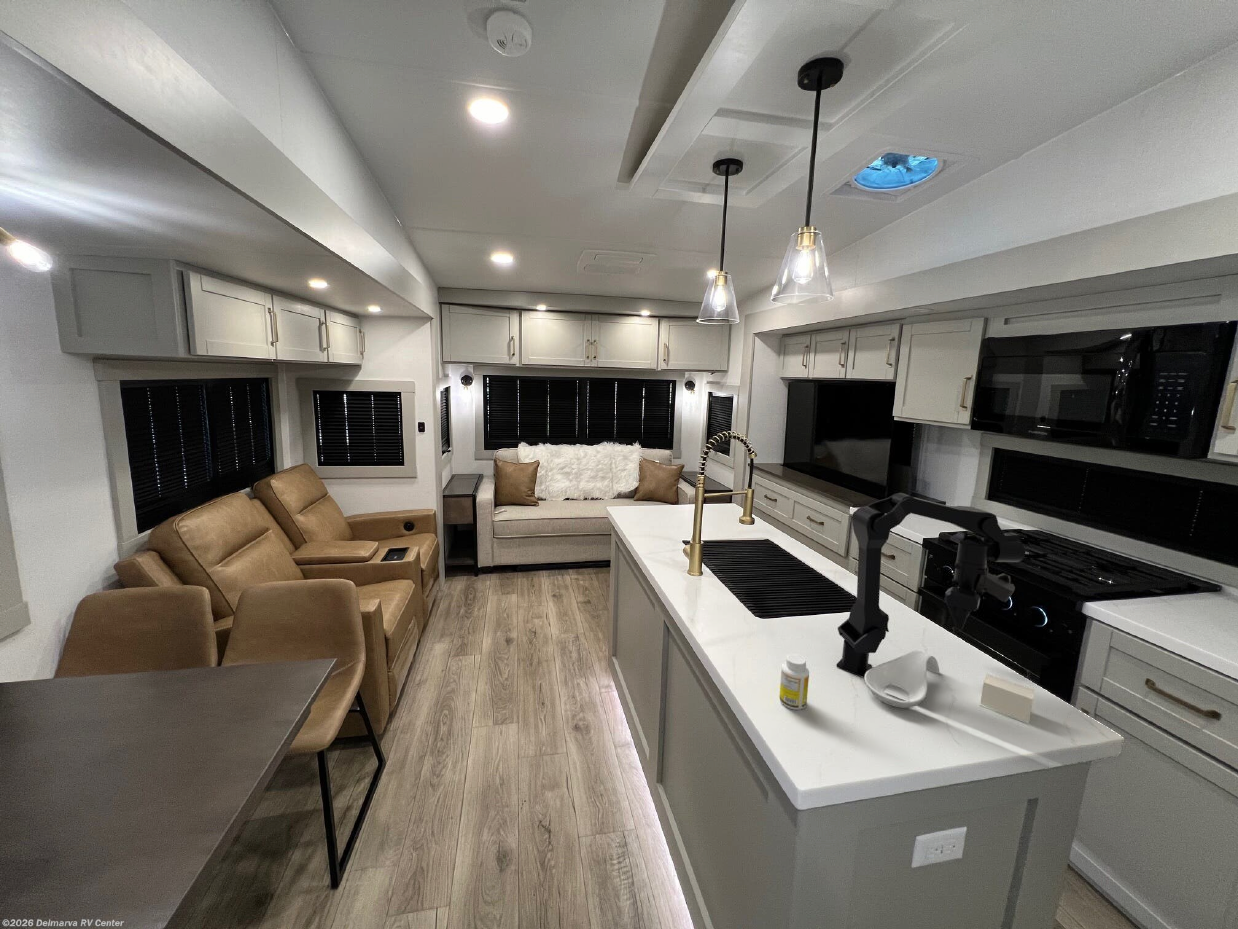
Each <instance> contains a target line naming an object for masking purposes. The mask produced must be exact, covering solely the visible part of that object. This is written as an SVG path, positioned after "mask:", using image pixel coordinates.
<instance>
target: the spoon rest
mask: <svg viewBox="0 0 1238 929" xmlns="http://www.w3.org/2000/svg"><path fill="white" fill-rule="evenodd" d="M939 666H940V665H939V662H938V660H937V658H936V657H935V656H934V655H931V654H927V653H925V652H924V651H922V650H919V649H914V650H912V651H910V652H908V653H905V654H902V655H900V656H899V657H897V658H894V659H891V660H889V661H886V662H883V663H881V664H879V665H876V666H874V667H873V666H872V668H871V669H870V670H868V671H867V672H866V674H865V677H863V678H864V683H865V685H866V687H867V688H868V690H869V691H870V692H871V693H872V695H873V696H875V697H876V698H877V699H879V701H882V702H883V703H885V704H887V705H890V706H893V707H896V708H902V709H903V708H904V709H906V708H907V709H908V708H913V707H916V706H917V705H919V704H921V703H922V702H923V701H924V699H925V698H926V696H927V694H928V676H927V671H929V672H932V673H934V674H940V667H939ZM889 685H892V686H896V687H899V688H900V689H902V690H904V691H905V692H907V694H908V695H909V701H907V700H906V699H902V698H900V697H897V696H895V695H893V694H890V693H888V692H885V691H886V689H887V688H888V687H889Z"/></svg>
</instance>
